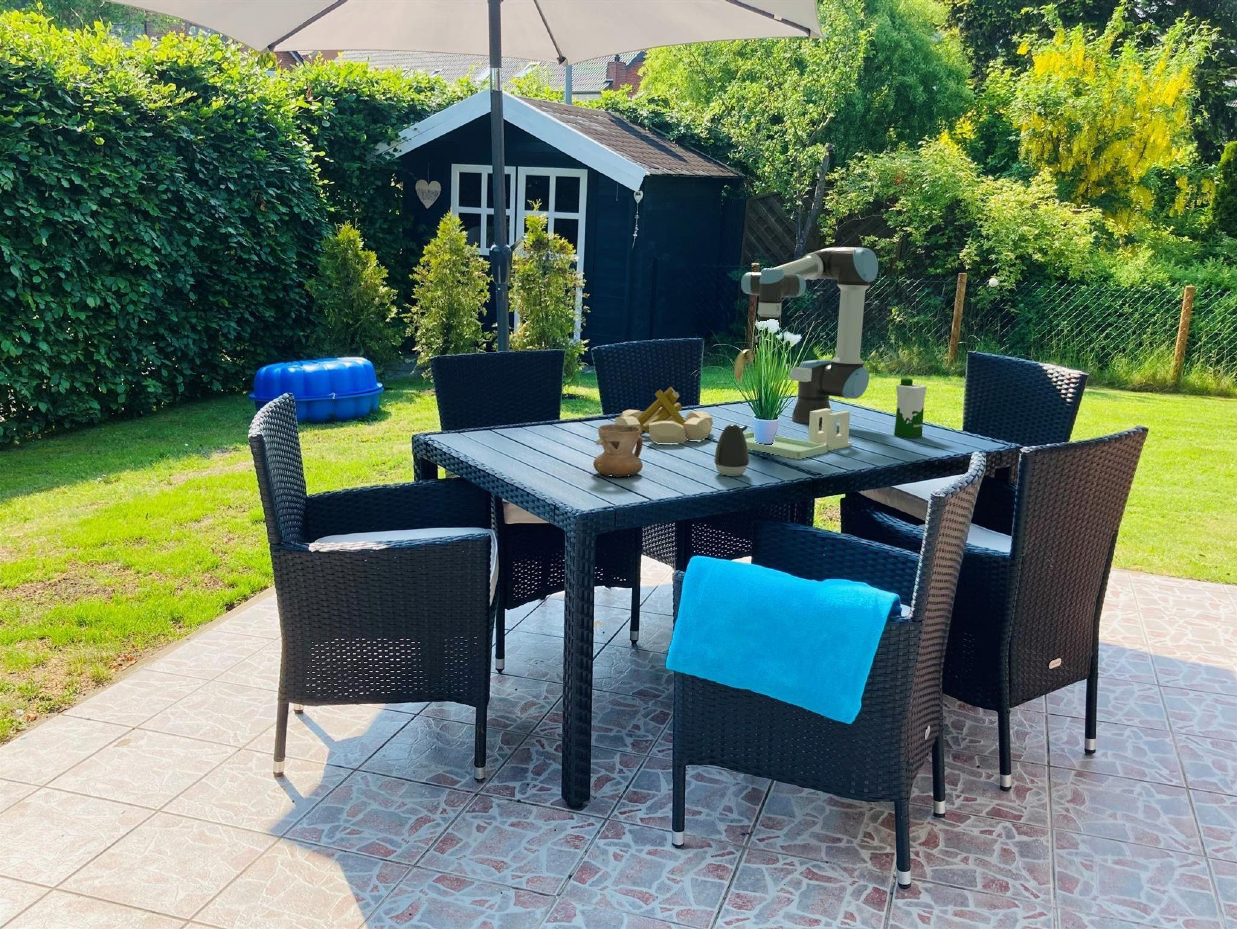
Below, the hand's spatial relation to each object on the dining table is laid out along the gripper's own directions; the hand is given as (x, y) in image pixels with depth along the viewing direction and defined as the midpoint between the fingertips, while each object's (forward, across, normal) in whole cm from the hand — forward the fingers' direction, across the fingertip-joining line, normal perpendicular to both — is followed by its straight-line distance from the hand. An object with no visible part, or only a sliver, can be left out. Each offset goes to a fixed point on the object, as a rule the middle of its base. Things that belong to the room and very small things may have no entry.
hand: (765, 386), depth 361 cm
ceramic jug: (+21, -68, 0) cm, 71 cm away
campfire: (+20, -15, +32) cm, 41 cm away
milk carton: (+19, +50, -26) cm, 59 cm away
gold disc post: (0, 0, -3) cm, 3 cm away
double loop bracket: (+19, +15, -16) cm, 29 cm away
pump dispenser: (+21, -43, -23) cm, 53 cm away
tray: (+20, -4, -8) cm, 21 cm away
